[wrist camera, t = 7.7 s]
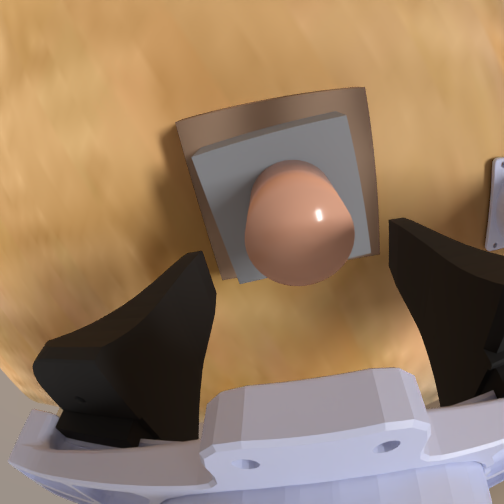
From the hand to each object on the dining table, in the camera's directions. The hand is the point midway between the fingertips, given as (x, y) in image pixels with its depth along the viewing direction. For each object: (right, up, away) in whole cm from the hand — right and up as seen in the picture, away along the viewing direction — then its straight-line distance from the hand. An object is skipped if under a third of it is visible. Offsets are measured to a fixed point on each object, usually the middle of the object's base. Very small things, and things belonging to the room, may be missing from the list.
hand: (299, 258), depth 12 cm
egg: (0, +3, +5) cm, 5 cm away
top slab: (0, +4, +7) cm, 8 cm away
